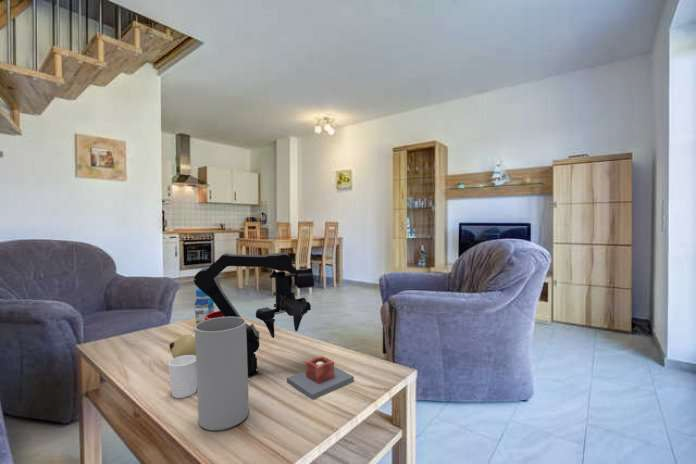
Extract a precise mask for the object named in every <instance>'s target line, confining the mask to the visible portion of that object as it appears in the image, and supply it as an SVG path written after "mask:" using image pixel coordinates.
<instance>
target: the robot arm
mask: <svg viewBox="0 0 696 464" xmlns="http://www.w3.org/2000/svg"><path fill="white" fill-rule="evenodd" d="M292 261H293V260H292V258H291V256H290V255H289V253H286V252H274V253H269V254H263V255H262V254H261V255H260V254H237V253H236V254H233V253H230V254H229V253H227V252H226V253H223V254H221V256H219V258H218V259H217V260H215V261H214V262H213V263H212V264H210V266H209V267H204V268H202V269H200V270H199V271H198V272H197V273H196V274H195V275H194V278H193V283H194V286H196V287H197V289H200V290H201V291H202V292H203V293H205V294H206V295H208V296H209V297H210V298H211V299H212V300H213V302H214V304H215V306H216V307H217V309H218V311H221V313H222V314H223V316H224V317H240V318H242V316H241V315H240V314H239V312H238V310H237V309H236V308H235V305H233V303H232V302H231V301H230V299H229V298H228V296H227V295H226V293H225V292H224V291H223V289H222V286H221V283H220V281H219V278H218V275H219V274H221V272H223V271H224V270H225V269H226V268H227V267H245V268H246V267H250V268H251V267H252V268H265V269H266V268H268V269H271V270H272V272H271V273H269V275H268V277H269V278H270V279H273V278H274V292H273V293H272V294H273V296H275V298H274V299H275V303H274V304H273V307H274V308H269V307H267V306H266V307H262V308H257V309H256V310H255V318H256V319H258V320H261V321H262V322H263V323H264V324H265V326H266V329H267V330H268V333H269V335H270V336H271V338H272V339H274V338H275V322H276V319H275V315H279V314H283V313H286V315H288V316H289V317H293V318H292V319H293V328H294V332H298V331H299V328H300V325H301V321H302V318H303V317H304V316H305V315H306V314H307V313H309V311H311V310H312V305H311V303H310V302H309V301H307V299H306V298H305V297H300V298H296V295H295V292H294V291H293V286H294V287H296V288H297V289H298V290H299V289H309V288H310V289H311V288H314V286H315V278H314V273H313V268H312V267H307V268H300V269H299V268H298V269H297V267H296V265H293V262H292ZM286 272H287V273H286ZM292 277H293V278H292ZM246 336H247V366H248V378H250V377H252V376H255V375H258V374H259V371H258V358H257V356H256V352H257V351H258V350H259V348H260V331H259V330H257V328H256V326H255V325H254V323H251V324H250V325H249V324H248V323H246Z"/></svg>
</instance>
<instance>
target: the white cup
mask: <svg viewBox="0 0 696 464" xmlns="http://www.w3.org/2000/svg"><path fill="white" fill-rule="evenodd" d="M167 364H168V374H169V383H170V387H171V388H170V389H171V396H172V397H173V398H174V397H175V399H185V398H188V397H190V396H192V395H194V394H195V393H196V392H197V372H196V356H194V355H184V356H179V357H176V358H172V359H170V360H169V361H168V363H167Z"/></svg>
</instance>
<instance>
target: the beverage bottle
mask: <svg viewBox="0 0 696 464" xmlns="http://www.w3.org/2000/svg"><path fill="white" fill-rule="evenodd" d="M195 296H196V300H195V302H194V307H195V308H194V313H195V314H194V315H195V318H194V319H195V326H196V325H197V324H198V323H200V322H202V321H205V316H206V315H207V314H209V313H212V312H215V305H214V304H215V303H214V302H213V300H212V299H211V298H210V297H209V296H208V295H206V294H205V293H203V292H202V291H201V290H200V289H199V288H197V289H196V290H195Z"/></svg>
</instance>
